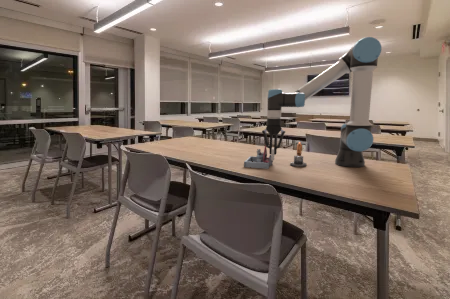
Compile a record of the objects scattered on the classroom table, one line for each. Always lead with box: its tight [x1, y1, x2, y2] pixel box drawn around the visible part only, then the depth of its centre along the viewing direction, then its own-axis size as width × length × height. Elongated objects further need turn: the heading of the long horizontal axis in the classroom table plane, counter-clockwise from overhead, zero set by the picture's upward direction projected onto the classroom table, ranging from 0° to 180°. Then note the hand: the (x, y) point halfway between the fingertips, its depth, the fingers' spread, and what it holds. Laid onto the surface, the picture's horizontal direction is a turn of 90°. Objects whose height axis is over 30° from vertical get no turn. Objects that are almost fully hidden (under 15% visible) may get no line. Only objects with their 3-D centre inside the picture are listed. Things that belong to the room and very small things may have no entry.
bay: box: [243, 155, 270, 170], centre depth 145 cm, size 14×16×3 cm
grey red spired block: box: [255, 145, 274, 167], centre depth 145 cm, size 11×11×12 cm
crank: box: [293, 142, 304, 164], centre depth 146 cm, size 13×5×10 cm, turn 162°
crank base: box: [289, 161, 307, 168], centre depth 144 cm, size 9×9×1 cm
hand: (272, 160), depth 143 cm, fingers closed
